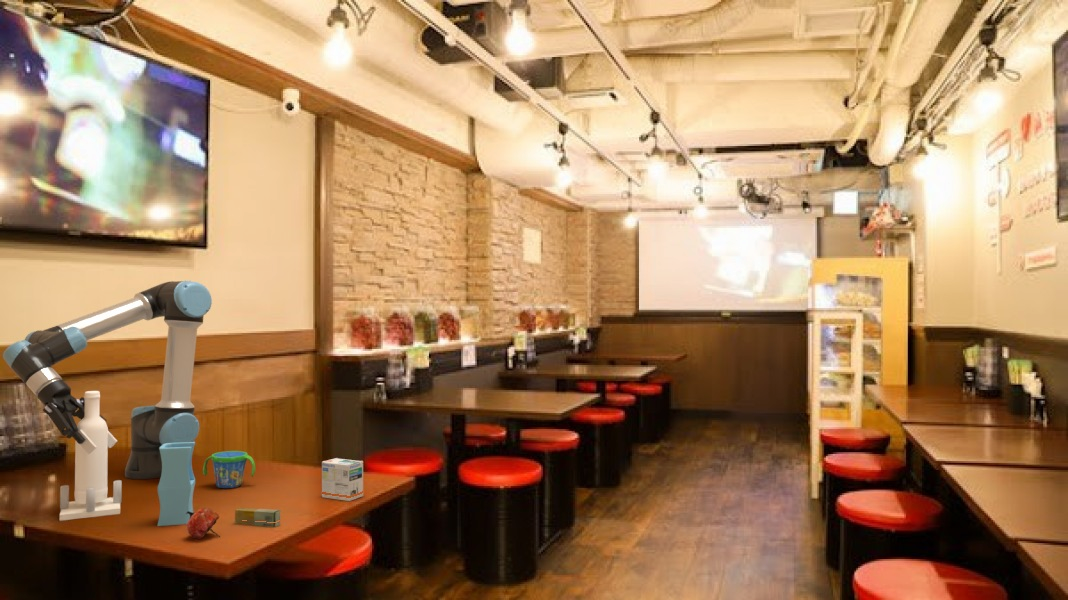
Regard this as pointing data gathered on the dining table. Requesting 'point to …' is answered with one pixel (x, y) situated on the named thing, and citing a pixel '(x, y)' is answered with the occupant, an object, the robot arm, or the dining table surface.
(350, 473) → the light bulb box
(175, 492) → the vase
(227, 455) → the snack cup
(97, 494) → the bottle
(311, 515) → the dining table surface
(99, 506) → the pin caddy
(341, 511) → the dining table surface
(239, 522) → the medication box
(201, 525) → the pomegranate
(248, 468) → the dining table surface
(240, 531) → the dining table surface
